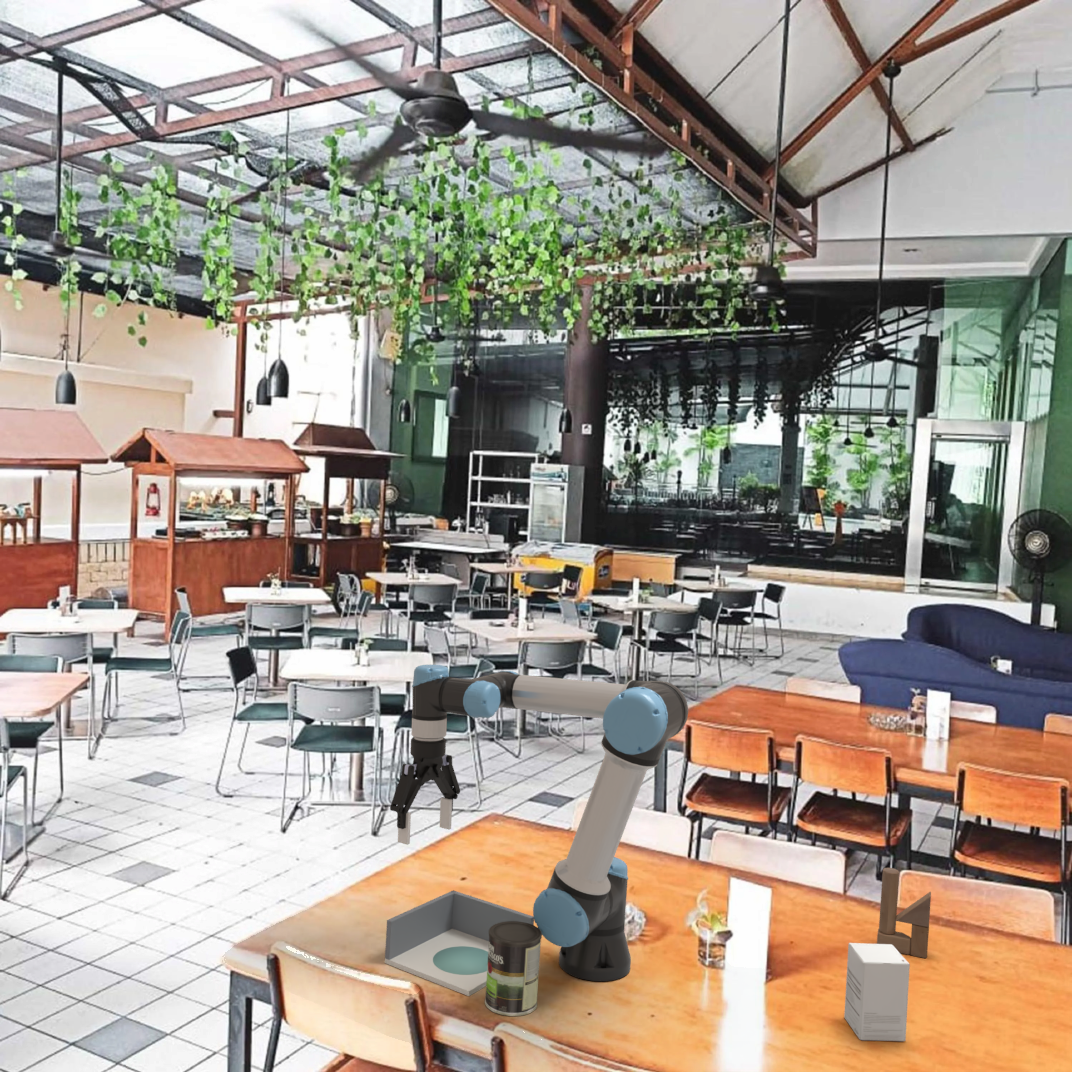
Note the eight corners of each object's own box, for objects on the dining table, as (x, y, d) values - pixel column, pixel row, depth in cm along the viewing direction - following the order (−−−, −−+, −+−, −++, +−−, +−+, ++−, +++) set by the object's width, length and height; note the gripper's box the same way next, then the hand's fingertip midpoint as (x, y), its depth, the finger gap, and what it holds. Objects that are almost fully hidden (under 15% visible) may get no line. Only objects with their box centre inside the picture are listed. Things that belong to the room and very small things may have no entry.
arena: (531, 958, 217) (534, 916, 216) (468, 996, 198) (471, 950, 198) (451, 929, 229) (453, 890, 229) (384, 963, 210) (387, 920, 210)
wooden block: (926, 959, 227) (932, 879, 227) (876, 949, 231) (881, 870, 231) (927, 952, 231) (932, 874, 230) (877, 942, 235) (882, 866, 234)
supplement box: (888, 1018, 199) (893, 943, 199) (906, 1042, 190) (911, 963, 190) (842, 1016, 199) (847, 941, 198) (858, 1040, 190) (863, 961, 189)
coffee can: (497, 1020, 190) (501, 946, 189) (476, 995, 199) (480, 924, 198) (546, 1011, 194) (550, 939, 194) (524, 987, 203) (528, 918, 203)
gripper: (452, 726, 231) (448, 819, 231) (375, 743, 210) (371, 845, 211) (478, 731, 227) (474, 825, 227) (402, 749, 206) (398, 853, 207)
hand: (425, 835), depth 219 cm, fingers open, 13 cm apart
